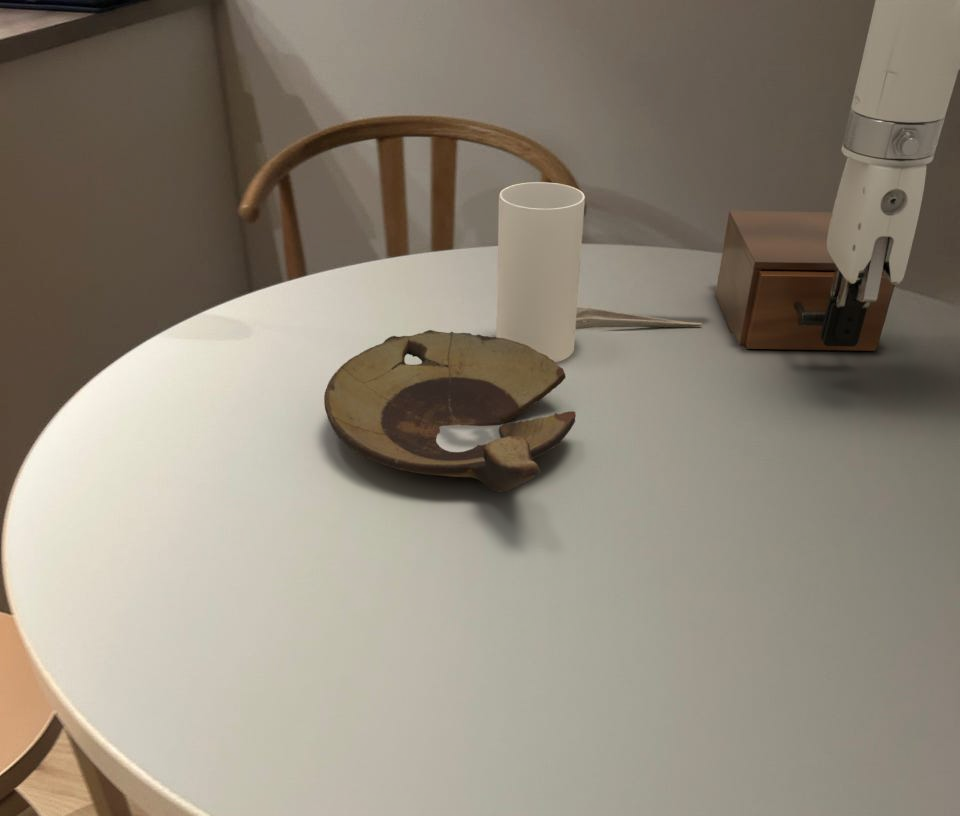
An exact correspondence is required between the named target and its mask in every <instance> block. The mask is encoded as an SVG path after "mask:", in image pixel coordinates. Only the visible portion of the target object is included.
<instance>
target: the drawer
mask: <svg viewBox="0 0 960 816" xmlns="http://www.w3.org/2000/svg"><path fill="white" fill-rule="evenodd" d="M833 277H834V271H829V270H767V269H761V271H759V276H758V281H757V286H756V291H755V296H754V302H753V307H752V312H751V317H750V322H749V328H748V333H747V338H746V343H745V344H746V349H748V350H792V351H793V350H798V351H799V350H801V351H802V350H803V351H851V352H852V351H853V352H856V351H857V352H858V351H859V352H866V351H867V352H876V349H877V348H876V345H877V342H878V338H879V335H880V331H881V328H882V324H883V321H884V317H885V314H886V310H887V307H888V303H889V300H890V296H891V293H892V289H893V286H894V285H893V284H891V283H890V282H889V280H888V279H887V278H886V276H885V275H884V273H882V276H881V282H880V287H879V292H878V297H877V300H876V302H870V304H869V307H868V308H867V311H866V315H865V318H864V322H863V326H862V329H861V333H860V337H859V340H858V343H857V345H856V346H853V347H850V346H826V345H825V344H824V343H823V340H822V339H821V331H822V327H823V323H824V319H825V315H826V311H827V307H828V303H829V299H836V298H833V297H831V287H832V282H833Z"/></svg>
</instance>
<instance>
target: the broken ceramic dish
mask: <svg viewBox="0 0 960 816" xmlns="http://www.w3.org/2000/svg"><path fill="white" fill-rule="evenodd" d="M407 355H409V356H412V357H413V358H414V357H415V358H418V359H419V360H420V361H421V362H420V363H418V364H417V363H416V364H407V363H406V360H405V358H406V356H407ZM565 379H566V373H565V371H564V368H562V367H561V366H560V365H558V364H556V362H554V361H553V360H552V359H550V358H549V357H548V356H547V355H544V354H541V353H539V352H537V351H536V350H534V349H532V348H530V347H529V346H527V345H524V344H521V343H519V342H515V341H511V340H508V339H504V338H498V337H496V336H488V335H481V334H472V333H471V332H453V331H450V332H445V331H438V330H437V331H436V330H432V329H428V330H425V331H424V332H420V333H417V334H412V335H402V336H396V335H392V336H389V337H388V338H386V339H385V340H384V341H383V342H382V343H379V344H375V345H374V346H372V347H371V346H370V347H369V348H367V349H365V350H363V351H361V352H360V353H358V354H357V355H355V356H353V357H350V359H348V360H347V361H346V362H344V363H343V364H342V365H340V367H339V368H338V369H337V370H336V371H335V372H334V373H333V375H332V376H331V378H330V379H329V381H328V383H327V386H326V388H325V390H324V395H323V401H324V402H323V404H324V410H325V413H326V416H327V419H328V421H329V424H330V427H331V428H332V430H333V431H334V433H335V435H336V436H337V437H338V438H339V439H340V440H341V441H342V442H343V443H344V444H345V445H346V446H348V447H349V448H350V449H351V450H352V451H354V452H356V453H357V454H359V455H362V456H363V457H365V458H367V459H369V460H371V461H373V462H376V463H378V464H381V465H384V466H387V467H391V468H394V469H397V470H400V471H405V472H409V473H410V472H411V473H416V474H424V475H433V476H443V477H444V476H445V477H453V478H473V479H476V480H477V481H479V482H480V483H482V484H483V485H485V486H486V487H487V488H488V489H490V490H491V491H492V492H498V493H499V492H500V493H503V492H509V491H511V490H513V489H515V488H517V487H518V486H520V485H521V484H524V483H525V482H528V481H530V480H532V479H533V478H536V476H538V475H539V474H540V472H541V471H540V467H539V465H538V463H537V462H536V461H534V459H536V458H537V457H539V456H541V455H543V454H546V453H547V452H549V451H550V450H552V449H553V448H555V447H556V446H557V445H558V444H560V443H561V442H562V441H563V440H564V439H565V438H566V436H567V435H568V434H569V432H570V431H571V430H572V428H573V426H574V425H575V424H576V416H577V415H576V412H575V411H574V410H572V411H564V412H561V413H557V412H555V413H554V414H551V415H549V416H543V417H542V416H539V417H534V418H533V419H525V420H520V421H517V422H510V421H511V420H513V419H515V418H516V417H517V416H518V415H519V414H521V413H523V412H525V411H528V410H529V409H530V408H531V407H532V406H534V405H535V404H536V403H537V402H539V401H540V400H542V399H543V398H545V396H547V395H548V394H550V393H551V392H552V391H553V390H554V389H556V388H557V387H558V386H559V385H561V383H563V381H564V380H565ZM507 422H509V423H507ZM444 426H446V427H448V426H472V427H490V426H499V428H498V432H499V436H500V437H499V438H496V439H493V440H491V441H489V442H488V443H486V444H477V445H476V446H475V447H473V448H471V449H468V450H464V451H449V450H446V449H444V448H443V447H441V446H440V444H439V443H438V442H437V438H438V435H439V434H440V433H441V427H444Z"/></svg>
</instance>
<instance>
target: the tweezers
mask: <svg viewBox="0 0 960 816" xmlns="http://www.w3.org/2000/svg"><path fill="white" fill-rule="evenodd" d="M702 326H703V325H702V322H694V321H693V322H692V321H691V322H690V321H683V320H675V319H666V318H661V317H655V316H654V317H653V316H647V315H640V314H635V313H627V312H620V311H614V310H607V309H603V308H596V307H589V306H577V314H576V327H575V330H582V329H591V328H645V327H646V328H648V327H649V328H653V327H655V328H657V327H658V328H687V327H702Z"/></svg>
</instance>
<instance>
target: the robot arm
mask: <svg viewBox="0 0 960 816" xmlns="http://www.w3.org/2000/svg"><path fill="white" fill-rule="evenodd" d="M873 5H874V6H873V10H872V15H871V18H870V23H869V28H868V32H867V36H866V40H865V45H864V49H863V53H862V59H861V62H860V67H859V70H858V71H859V72H858V75H857V80H856V84H855V89H854V93H853V97H852V101H851V106H850V110H849V115H848V118H847V123H846V127H845V132H844V137H843V141H842V145H841V149H840V151H841V153H842V155H843V156H845V157H847V158H846V161H845V164H844V169H843V172H842V175H841V179H840V180H839V185H838V188H837V193H836V197H835V200H834V204H833V208H832V211H831V212H832V216H831V220H830V225H829V230H828V236H827V249H828V252H829V254H830V256H831V258H832V259H833V261H834V263H835V264H836V266H835V271H834V277H833V282H832V287H831V297H833V298H836V299H829V303H828V307H827V311H826V315H825V319H824V323H823V327H822V331H821V339H822V340H823V343H824V344H825V345H826V346H850V347H853V346H856V345H857V343H858V340H859V337H860V333H861V329H862V326H863V322H864V318H865V315H866V311H867V308H868V307H869V304H870V302H876V300H877V297H878V292H879V287H880V282H881V276H882V272H883V273H884V275H885V276H886V278H887V279H888V280H889V282H890V283H891V284H893V285H895V286H897V285H899V284H901V282H902V281H903V280H904V277H905V275H906V270H907V268H908V267H907V266H908V263H909V259H910V255H911V251H912V245H913V242H914V238H915V234H916V229H917V226H918V222H919V221H918V220H919V216H920V213H921V212H920V211H921V207H922V203H923V196H924V191H925V184H926V177H927V165H928V164H930V163H932V162H933V160H934V158H935V153H936V149H937V146H938V144H939V140H940V137H941V132H942V129H943V126H944V122H945V119H946V114H947V111H948V107H949V104H950V102H951V101H950V100H951V98H952V94H953V90H954V87H955V84H956V81H957V77H958V74H959V70H960V0H875V1H874V4H873Z"/></svg>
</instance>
